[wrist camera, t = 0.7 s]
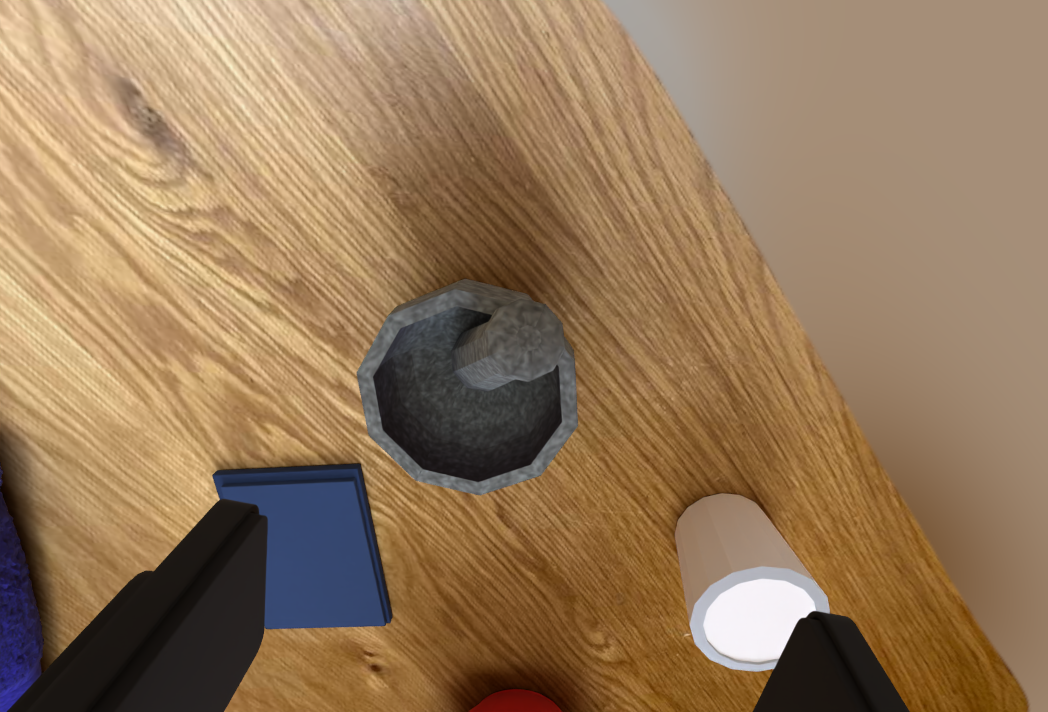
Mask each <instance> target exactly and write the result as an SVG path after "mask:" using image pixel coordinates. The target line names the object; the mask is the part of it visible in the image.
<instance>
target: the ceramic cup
mask: <svg viewBox="0 0 1048 712" xmlns="http://www.w3.org/2000/svg"><path fill="white" fill-rule="evenodd" d="M468 712H563V711H561V710H560V708H559V707H558V706H557V705H556V704H555V703H554V702H553V701H551V700H550V699H549V698H547V697H545V696H543V695H542V694H539V693H536V692H533V691H529V690H523V689H510V690H503V691H499V692H496V693H494V694H491V695H489V696H488V697H486V698H485V699H483V700H482V701H481V702H480V703H479V704H478V705H477V706H475V707H474V708H472V709H471V710H470V711H468Z"/></svg>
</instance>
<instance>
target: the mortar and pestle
mask: <svg viewBox="0 0 1048 712" xmlns="http://www.w3.org/2000/svg"><path fill="white" fill-rule="evenodd" d="M357 378H358V383H359V388H360V393H361V398H362V404H363V409H364V414H365V419H366V424H367V429H368V434H369V436H370V437H371V438H372V439H373V440H374V441H375V442H376V443H377V444H378V445H379V446H380V447H381V448H382V449H383V450H384V451H385V452H387V453H388V454H389V455H390V456H391V457H392V458H393V459H394V460H395V461H396V462H397V463H398V464H399V465H400V466H401V467H402V468H403V469H404V470H405V471H406V472H407V473H408V474H409V475H410V476H411V477H412V478H414V479H415V480H416V481H420V482H424V483H428V484H433V485H437V486H441V487H446V488H450V489H454V490H459V491H463V492H467V493H472V494H476V495H483V494H486V493H489V492H492V491H495V490H498V489H501V488H504V487H507V486H510V485H513V484H516V483H519V482H523V481H526V480H529V479H532V478H535V477H538V476H541V475H542V473H543V472H544V470H545V469H546V468H547V466H548V465H549V464H550V462H551V461H552V460H553V458H554V457H555V456H556V454H557V453H558V452H559V450H560V449H561V448H562V446H563V445H564V444H565V442H566V441H567V440H568V438H569V437H570V436H571V434H572V433H573V432H574V430H575V429H576V428H577V426H578V418H577V396H576V374H575V358H574V350H573V348H572V347H571V345H570V344H569V342H568V340H567V339H566V338H565V337H564V333H563V325H562V322H561V321H560V320H559V319H558V318H557V317H556V315H555V314H554V313H553V312H552V311H551V310H550V309H549V307H548V306H547V305H546V304H543V303H539V302H535V301H533V300H532V299H531V297H530V296H529V295H528V294H525V293H521V292H517V291H513V290H509V289H505V288H501V287H497V286H493V285H489V284H485V283H481V282H477V281H473V280H469V279H463V280H460V281H458V282H455V283H453V284H450V285H448V286H445V287H443V288H440V289H438V290H435V291H433V292H430V293H428V294H425V295H423V296H420V297H418V298H415V299H413V300H410V301H408V302H406V303H403V304H401V305H399V306H397V307H396V308H395V309H394V310H393V311H392V312H391V313H390V314H389V315H388V317H387V319H386V320H385V322H384V324H383V326H382V328H381V329H380V331H379V333H378V335H377V337H376V339H375V340H374V342H373V344H372V346H371V348H370V349H369V351H368V353H367V355H366V357H365V358H364V360H363V362H362V364H361V366H360V367H359V369H358V371H357Z"/></svg>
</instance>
